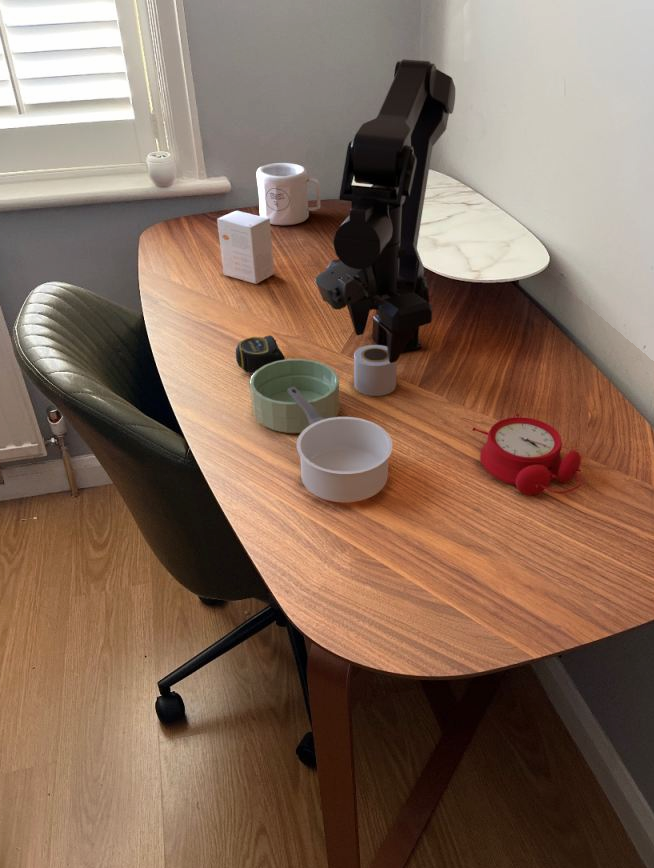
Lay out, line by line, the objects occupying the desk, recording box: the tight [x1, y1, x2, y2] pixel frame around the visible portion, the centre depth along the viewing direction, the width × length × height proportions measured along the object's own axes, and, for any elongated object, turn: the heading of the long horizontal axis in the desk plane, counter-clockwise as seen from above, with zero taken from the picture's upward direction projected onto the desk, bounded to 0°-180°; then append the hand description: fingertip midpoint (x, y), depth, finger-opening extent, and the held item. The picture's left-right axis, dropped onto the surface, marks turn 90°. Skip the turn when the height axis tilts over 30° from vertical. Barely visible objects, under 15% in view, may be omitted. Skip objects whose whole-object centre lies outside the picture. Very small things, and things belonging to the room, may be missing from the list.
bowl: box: [249, 358, 340, 434], centre depth 103 cm, size 12×12×5 cm
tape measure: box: [235, 335, 286, 374], centre depth 113 cm, size 7×7×4 cm
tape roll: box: [353, 344, 398, 397], centre depth 109 cm, size 6×6×5 cm
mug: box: [256, 162, 321, 226], centre depth 160 cm, size 14×11×10 cm
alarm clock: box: [472, 413, 583, 496], centre depth 94 cm, size 10×6×15 cm
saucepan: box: [287, 387, 393, 503], centre depth 94 cm, size 12×20×6 cm, turn 31°
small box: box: [216, 210, 275, 285], centre depth 137 cm, size 8×6×10 cm
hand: (375, 347), depth 107 cm, fingers open, 9 cm apart
